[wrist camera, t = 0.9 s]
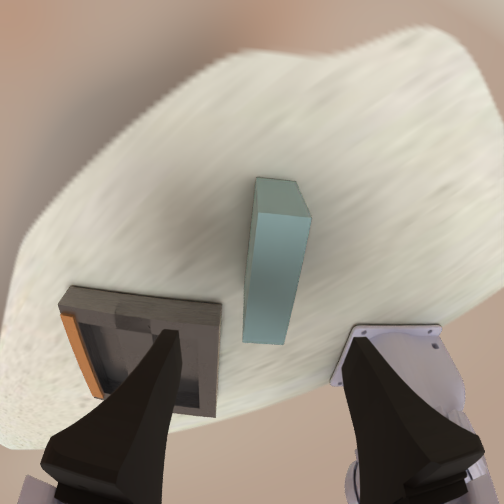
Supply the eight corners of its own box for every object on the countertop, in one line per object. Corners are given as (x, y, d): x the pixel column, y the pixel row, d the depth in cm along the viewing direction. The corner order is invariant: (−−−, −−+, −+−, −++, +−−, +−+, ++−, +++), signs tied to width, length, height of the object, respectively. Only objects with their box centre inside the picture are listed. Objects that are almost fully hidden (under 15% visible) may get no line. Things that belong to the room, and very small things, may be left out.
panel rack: (221, 304, 23) (218, 329, 21) (217, 398, 29) (215, 420, 27) (70, 286, 22) (56, 306, 20) (100, 380, 29) (93, 400, 26)
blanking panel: (295, 181, 19) (311, 218, 14) (277, 289, 23) (283, 344, 18) (256, 177, 19) (258, 212, 14) (244, 286, 22) (242, 342, 18)
